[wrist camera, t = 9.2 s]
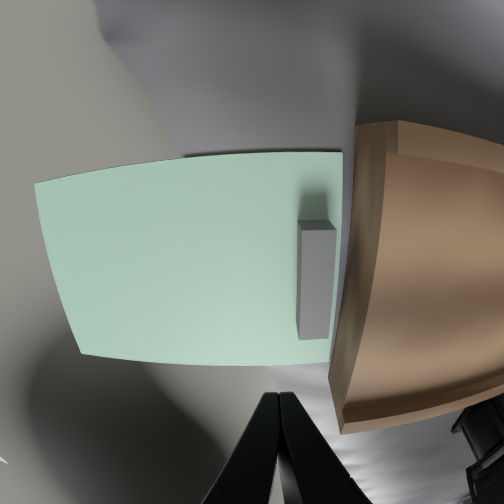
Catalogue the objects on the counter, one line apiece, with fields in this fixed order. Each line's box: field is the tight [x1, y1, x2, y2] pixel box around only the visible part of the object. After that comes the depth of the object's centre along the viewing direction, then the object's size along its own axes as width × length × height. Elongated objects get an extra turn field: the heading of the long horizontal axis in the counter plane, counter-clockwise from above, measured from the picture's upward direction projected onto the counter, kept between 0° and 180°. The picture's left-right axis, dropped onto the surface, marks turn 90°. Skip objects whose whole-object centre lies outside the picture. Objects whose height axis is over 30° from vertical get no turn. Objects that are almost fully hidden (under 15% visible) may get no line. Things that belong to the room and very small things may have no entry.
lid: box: [34, 152, 343, 366], centre depth 16 cm, size 13×18×3 cm
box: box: [328, 120, 504, 435], centre depth 13 cm, size 16×18×5 cm
